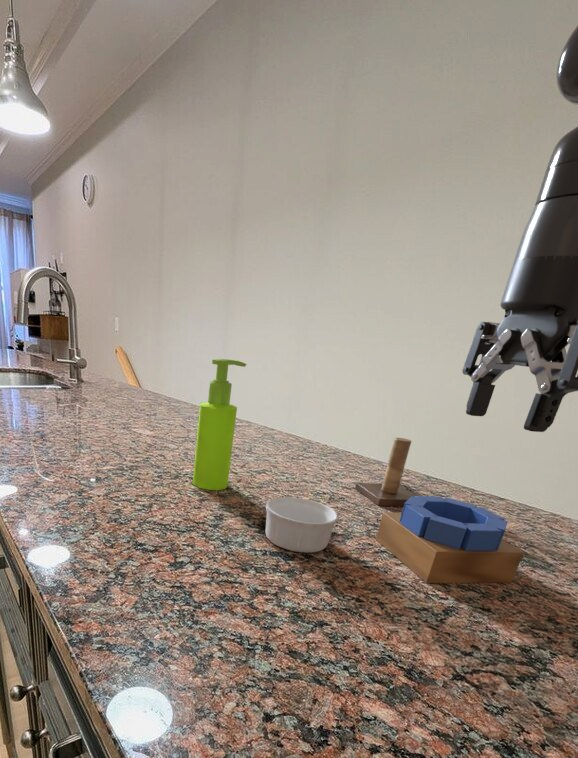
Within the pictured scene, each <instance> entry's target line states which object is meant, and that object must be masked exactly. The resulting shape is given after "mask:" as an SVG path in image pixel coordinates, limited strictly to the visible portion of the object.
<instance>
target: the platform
mask: <svg viewBox="0 0 578 758" xmlns="http://www.w3.org/2000/svg"><path fill="white" fill-rule="evenodd" d="M401 514H402V512H392V511H389V512H387V511H383V512H382V516H381V519H380V522H379V526H378V530H377V534H376V537H375V540H376V541H377V542H378V543H379V544H381V545H382V546H383V547H384V548H385V549H386V550H387V551H389V552H390V553H391V554H392V555H393V556H394V557H396V558H397V560H399V561H400V562H401V563H402V564H404V566H406V567H407V568H408V569H409V570H411V571H412V572H413V573H415V575H417V576H418V578H420V579H421V580H422V581H424V582H425V584H511V583H512V582H513V580H514V578H515V576H516V573H517V571H518V568H519V565H520V564H521V561H522V558H523V556H524V554H525V552H524V551H523V550H521V549H519V548H518V547H516V546H514V545H512V544H510V543H509V542H507V541H505V540H503V539H502V540H501V543H500V546H499V548H498V550H496V549H495V551H465V550H464V549H462V548H461V547H460V549H455V548H452V547H449V546H446V545H442V544H439V543H436V542H432V541H429V540H426V539H424V537H420V536H417V535H416V534H414V533H413V532H412V531H410V530H409V529H407V528H406V527H405V526H403V525H402V524H401V522H400V518H401Z"/></svg>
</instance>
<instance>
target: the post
mask: <svg viewBox="0 0 578 758" xmlns="http://www.w3.org/2000/svg"><path fill="white" fill-rule="evenodd" d="M411 445H412V440H411V439H409V438H404V437H394V439H393V442H392V446H391V450H390V454H389V458H388V461H387V465H386V470H385V473H384V477H383V481H382V483H373V482H356V483H355V486H354V490H355V491H357V492H359V493H360V494H361V495H362V496H364V497H366V499H369V501H371V502H372V503H374V504H375V505H377V506H378V507H404V504H405V502H406V501H407V500H408V499H409V498H410V497H411V496H413V497H414V496H417V495H416V494H414V493H412V492H411V491H409V490H407V489H406V488H404V487H403V486H401V485H400V484H401V481H402V476H403V474H404V470H405V465H406V462H407V458H408V456H409V451H410V449H411Z"/></svg>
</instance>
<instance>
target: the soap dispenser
mask: <svg viewBox="0 0 578 758" xmlns="http://www.w3.org/2000/svg"><path fill="white" fill-rule="evenodd" d="M211 364H212V365H215V366H216V373H215V379H213V380H210V382H209V386H208V387H209V388H208V399H207V401H205V402H200V403H199V407H198V408H199V410H198V422H197V431H196V443H195V452H194V453H195V454H194V464H193V475H192V485H194V486H195V487H196V488H199V489H203V490H207V491H208V490H209V491H221V490H225V489H227V488H228V484H229V478H230V477H229V476H230V469H231V461H232V453H233V445H234V444H233V443H234V437H235V428H236V420H237V411H238V407H237V406H235V405H234V404H231V403H230V402H231V394H232V386H233V384H232V383H231V382H230V380H228V372H229V366H238V367H243V368H245V367H246V366H247V363H245V362H242V361H239V360H235V359H228V358H218V359H212V361H211Z"/></svg>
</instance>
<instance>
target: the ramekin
mask: <svg viewBox="0 0 578 758" xmlns="http://www.w3.org/2000/svg"><path fill="white" fill-rule="evenodd" d="M265 509H266V517H265V529H264V530H265V536H266V538H267V540H269V541H270V542H271V543H272V544H273V545H275V546H277V547H279V548H282V549H284V550H287V551H291V552H295V553H304V554H305V553H307V554H310V553H311V554H313V553H318V552H321V551H323V550H325V549H326V548H327V547H328V545H329V542H330V539H331V537H332V533H333V529H334V527H335V524H336V523H337V521H338V519H339V515H338V513H337V512H336V511H335V510H334V509H333V508H332V507H330V506H328V505H326V504H325V503H324V504H323V503H322V502H319V501H315V500H312V499H308V498H303V497H295V496H280V497H273V498H271V499H269V500H268V501H267V502H266V504H265Z"/></svg>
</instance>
